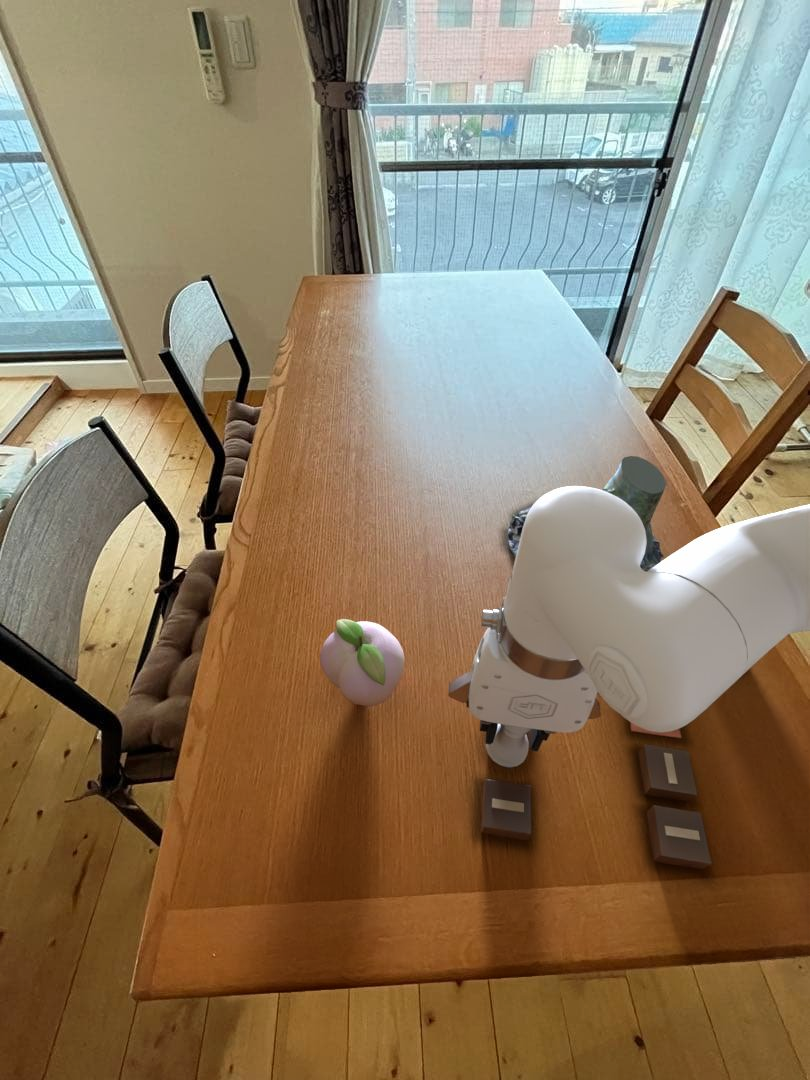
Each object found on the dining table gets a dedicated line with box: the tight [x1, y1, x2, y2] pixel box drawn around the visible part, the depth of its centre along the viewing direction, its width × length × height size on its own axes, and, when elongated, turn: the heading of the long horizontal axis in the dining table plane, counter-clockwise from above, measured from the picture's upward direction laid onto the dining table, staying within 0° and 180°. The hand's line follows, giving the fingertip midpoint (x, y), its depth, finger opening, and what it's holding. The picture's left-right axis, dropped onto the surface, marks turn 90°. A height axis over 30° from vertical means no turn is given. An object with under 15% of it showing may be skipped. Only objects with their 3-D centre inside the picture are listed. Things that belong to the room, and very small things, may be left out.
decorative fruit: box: [319, 618, 405, 707], centre depth 60 cm, size 9×8×10 cm
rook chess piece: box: [485, 724, 531, 768], centre depth 55 cm, size 4×4×8 cm
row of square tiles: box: [629, 721, 712, 870], centre depth 56 cm, size 18×5×2 cm, turn 172°
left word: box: [480, 778, 532, 841], centre depth 58 cm, size 17×4×2 cm, turn 172°
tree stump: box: [507, 455, 667, 572], centre depth 74 cm, size 18×20×18 cm
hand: (511, 732), depth 56 cm, fingers open, 3 cm apart
